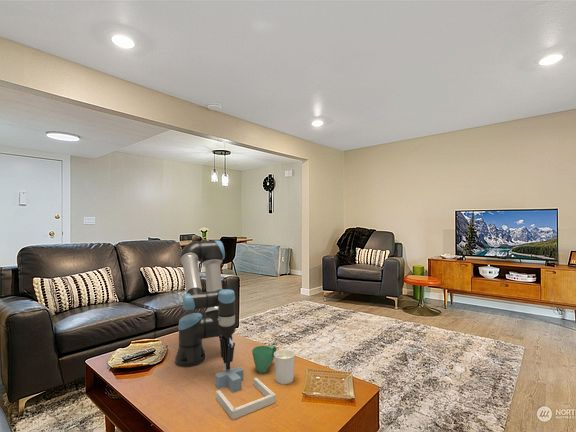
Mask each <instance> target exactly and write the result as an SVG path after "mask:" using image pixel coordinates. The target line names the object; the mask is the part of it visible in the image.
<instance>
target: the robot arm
mask: <svg viewBox="0 0 576 432" xmlns="http://www.w3.org/2000/svg"><path fill="white" fill-rule="evenodd" d="M179 256H180V257H179V259H180V263H181V265H182V269H183V276H184V286H185V293H183V295H182V308H183V310H185V311H194V310H199V309H206V308H207V309H206V310H205V312H204V315H203V314H202V313H200V312H194V313H193V312H191V313H189V314H186V315H184V316H182V317H181V318H180V319H179V321H178V328H177V329H178V348H177V351H176V353H175V358H174V362H175V363H174V364H175V365H176V366H178V367H182V368H188V367H189V368H190V367H193V366H194V367H195V366H199V365H201V364H202V363H203V362H205V360H206V351H205V350H204V347H203V339H204V340H205V339H210V338H217V337H218V338H219V344H220V356H221V359H222V361H223V371H226V370H230V369H231V363H232V362H233V361H234V352H235V351H234V350H235V346H236V343H235V342H233V334H234V333H235V332H236V325H235V323H236V302H235V301H236V296H235V295H236V294H235V290H233V289H231V288H230V289H229V288H228V289H224V288H223V285H222V284H223V283H222V274H221V273H222V272H221V271H222V270H221V264H223V260H224V259H225V257H226V252H225V247H224V243H223V242H222V241H221V240H217V239H216V240H214V239H211V240H194V241H190V242H189V243H187V244H186V245H185V246H184V247H183V248H182V251H181V252H180V255H179ZM198 262H201V264H202V266H204V268H205V269H204V270H205V272H204V273H205V284H206V286H205V288H206V289H205V290H206V291H203V289H202V283H201V277H200V270H199V266H198V265H199V264H198Z"/></svg>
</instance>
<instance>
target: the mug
mask: <svg viewBox="0 0 576 432" xmlns="http://www.w3.org/2000/svg"><path fill="white" fill-rule="evenodd" d="M276 351H277V348H276V346H275V344H274V345H273V344H272V345H270V346H269V345H260V346H259V345H258V346H255V347H253V348H252V350H251V352H252V358H253V363H254V365H255V369H256V371H257V372H258V373H259V374H264V373H267V372H268V369H269V367H270V365H271V364H272V362H273V361H274V353H275V352H276Z"/></svg>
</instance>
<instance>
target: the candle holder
mask: <svg viewBox="0 0 576 432" xmlns="http://www.w3.org/2000/svg"><path fill="white" fill-rule="evenodd" d="M295 359H296V353H295V351H294V350H292V349H288V348H282V349H278V350H277V349H276V352H275V353H274V359H273V361H274V374H275V375H274V376H275V377H274V378H275V381H276V382H277V383H278V384H280V385H289V384H291V383H293V381H294V379H295V378H294V376H295V362H296V360H295Z"/></svg>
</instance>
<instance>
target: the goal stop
mask: <svg viewBox="0 0 576 432" xmlns="http://www.w3.org/2000/svg"><path fill="white" fill-rule="evenodd" d="M253 386H254V387H255V388H256V389H257V390H258V391H259V392H260V393H261V394H263V397H261V398H258V399H255V400H252V401H251V402H247V403H245V404H242V405H240V406H237V407H235V406H233V405H232V403H231V402H230V401H229V399H228V398H227V397H226V396H225V395H224V393H223V392H222V391H221V390H220V389H218V390H216V391H215V396H216V397H215V398H216V400H217V402H218V403H219V404H220V406H221V407H222V408H223V410H224V411H225V412H226V413H227V415H228V416H229V418H230V419H231V420H236V419H238V418H241V417H243V416H246V415H248V414H250V413H253V412H255V411H256V412H257V411H258V410H260V409H263V408H266V407H267V406H270V405H273V404H275V403H276V401H277V400H276V396H277V395H276V393H275V392H273V390H271V389H270V388H269V387H268V386H267V385H265V384H264V383H263V382H262V381H261V379H259V378H258V377H254V378H253Z"/></svg>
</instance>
